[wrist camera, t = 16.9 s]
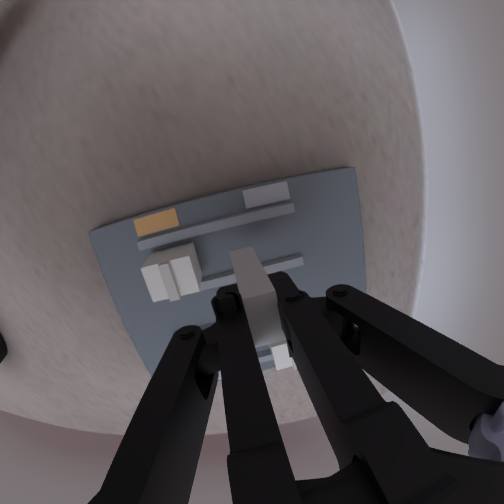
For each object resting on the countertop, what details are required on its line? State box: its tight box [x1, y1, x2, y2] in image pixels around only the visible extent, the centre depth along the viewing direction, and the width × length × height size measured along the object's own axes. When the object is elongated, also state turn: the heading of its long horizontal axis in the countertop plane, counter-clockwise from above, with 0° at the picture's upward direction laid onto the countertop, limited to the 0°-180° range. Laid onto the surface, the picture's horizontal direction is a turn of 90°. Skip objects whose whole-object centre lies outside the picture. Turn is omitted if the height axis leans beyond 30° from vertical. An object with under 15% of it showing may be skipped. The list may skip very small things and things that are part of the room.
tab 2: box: [269, 334, 297, 370], centre depth 25 cm, size 4×3×5 cm
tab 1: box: [141, 242, 202, 302], centre depth 22 cm, size 4×3×5 cm
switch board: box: [88, 167, 366, 380], centre depth 27 cm, size 26×20×3 cm
